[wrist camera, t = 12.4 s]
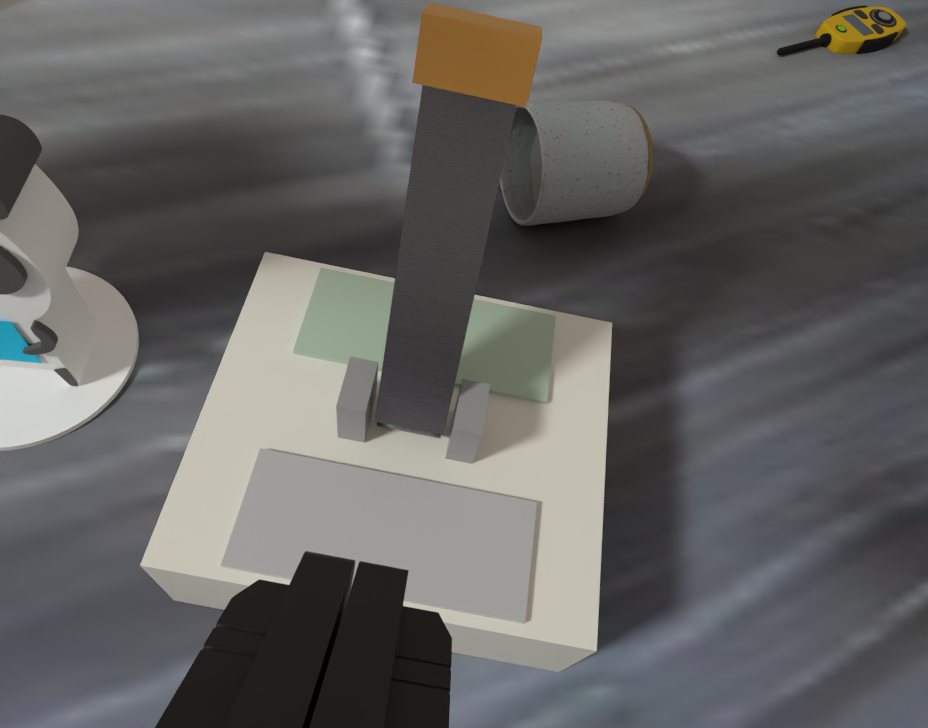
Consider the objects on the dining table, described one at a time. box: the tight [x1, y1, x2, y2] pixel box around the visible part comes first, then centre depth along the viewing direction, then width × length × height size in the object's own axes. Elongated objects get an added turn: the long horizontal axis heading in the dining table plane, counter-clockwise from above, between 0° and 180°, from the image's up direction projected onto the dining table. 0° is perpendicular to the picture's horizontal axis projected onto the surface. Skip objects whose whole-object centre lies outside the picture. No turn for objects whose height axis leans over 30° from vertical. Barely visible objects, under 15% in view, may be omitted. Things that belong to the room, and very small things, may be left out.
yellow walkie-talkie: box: [777, 6, 906, 55], centre depth 63 cm, size 5×2×15 cm
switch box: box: [140, 252, 612, 672], centre depth 33 cm, size 16×18×9 cm
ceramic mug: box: [500, 100, 653, 226], centre depth 46 cm, size 11×8×8 cm
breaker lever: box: [374, 3, 542, 438], centre depth 26 cm, size 2×4×17 cm, turn 81°
